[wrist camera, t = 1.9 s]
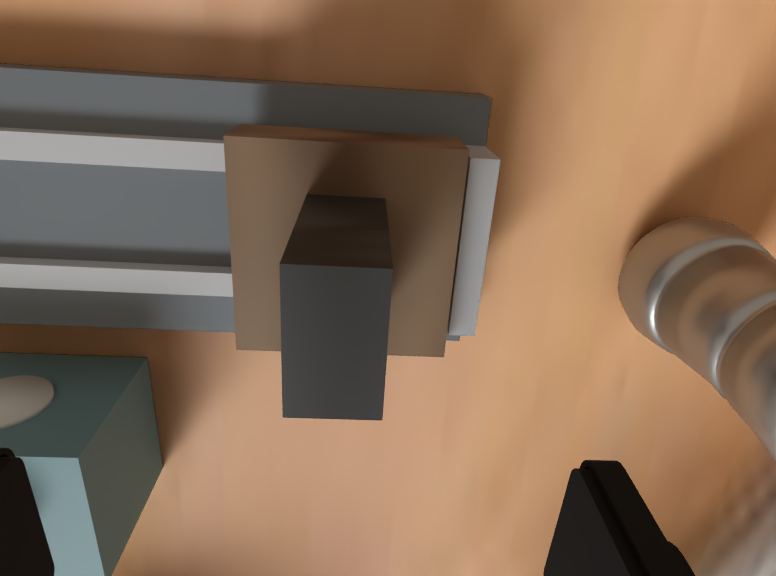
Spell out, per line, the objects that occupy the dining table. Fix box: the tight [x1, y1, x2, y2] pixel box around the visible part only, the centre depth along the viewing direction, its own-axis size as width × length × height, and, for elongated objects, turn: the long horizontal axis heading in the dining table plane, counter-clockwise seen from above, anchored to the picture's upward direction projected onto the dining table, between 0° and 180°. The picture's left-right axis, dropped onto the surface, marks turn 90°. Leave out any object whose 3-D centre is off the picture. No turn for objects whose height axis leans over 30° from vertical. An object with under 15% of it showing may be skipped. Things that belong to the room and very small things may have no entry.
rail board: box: [0, 63, 501, 341], centre depth 25 cm, size 28×12×5 cm, turn 86°
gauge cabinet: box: [0, 353, 163, 576], centre depth 28 cm, size 10×8×8 cm
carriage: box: [223, 124, 469, 420], centre depth 20 cm, size 9×9×10 cm
